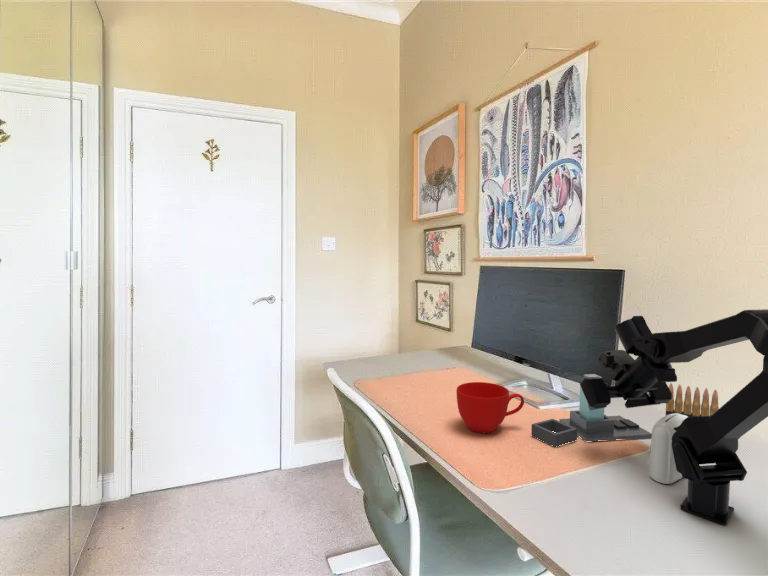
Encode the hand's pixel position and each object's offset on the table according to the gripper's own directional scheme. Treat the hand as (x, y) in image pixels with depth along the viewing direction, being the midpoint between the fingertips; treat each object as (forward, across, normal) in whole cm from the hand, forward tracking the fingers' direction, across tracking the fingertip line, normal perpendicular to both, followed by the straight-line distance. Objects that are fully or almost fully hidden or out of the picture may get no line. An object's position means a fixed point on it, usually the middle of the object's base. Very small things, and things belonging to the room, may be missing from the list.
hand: (607, 407), depth 103 cm
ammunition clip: (+7, -23, +5) cm, 24 cm away
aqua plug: (+10, 0, +1) cm, 10 cm away
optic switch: (+10, -3, +2) cm, 11 cm away
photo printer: (-5, -3, +18) cm, 18 cm away
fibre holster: (+8, +11, +4) cm, 14 cm away
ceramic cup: (+14, +24, -2) cm, 28 cm away
